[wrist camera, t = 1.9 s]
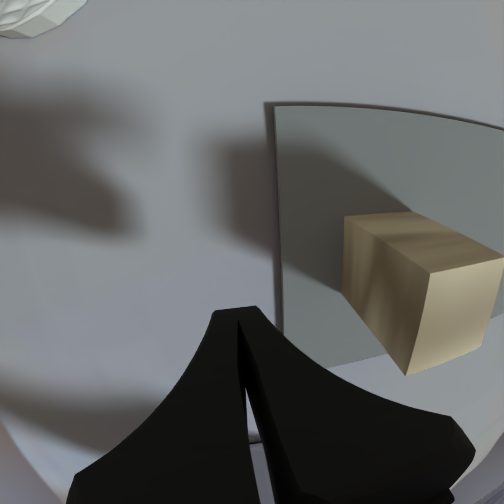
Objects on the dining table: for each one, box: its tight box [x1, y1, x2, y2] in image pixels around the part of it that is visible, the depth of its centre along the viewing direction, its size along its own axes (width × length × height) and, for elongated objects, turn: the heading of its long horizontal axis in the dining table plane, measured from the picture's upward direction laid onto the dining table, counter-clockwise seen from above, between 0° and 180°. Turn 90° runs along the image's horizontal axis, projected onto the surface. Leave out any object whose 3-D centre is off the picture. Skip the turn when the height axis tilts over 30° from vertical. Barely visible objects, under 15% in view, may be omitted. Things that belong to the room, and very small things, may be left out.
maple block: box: [341, 211, 504, 376], centre depth 12 cm, size 4×4×6 cm
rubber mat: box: [273, 106, 504, 368], centre depth 15 cm, size 14×19×1 cm
